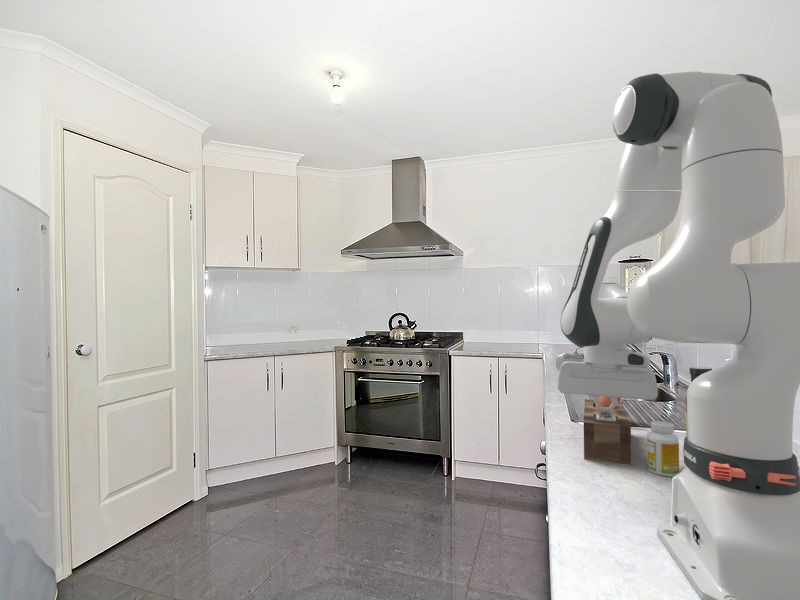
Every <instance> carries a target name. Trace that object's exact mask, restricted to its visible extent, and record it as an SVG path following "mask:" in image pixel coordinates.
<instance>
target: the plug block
mask: <svg viewBox="0 0 800 600" xmlns="http://www.w3.org/2000/svg"><path fill="white" fill-rule="evenodd" d="M583 406H584V407H583V408H584V409H583V410H584V412H583V459H584V460H588V461H595V462H596V461H597V462H603V463H604V462H605V463H610V464H611V463H612V464H617V465H626V466H632V426H631V424H630V420H629V417H628V415H627V411H626V409H625V405H624V402H622V401H620V402H618V403H617V405H616V406H615V408H614V409H613V416H615V417H616V421H607V420H597V419H596V414H598V408H597V407H595V403H594V401H593V399H588V398H587V399H584V405H583Z"/></svg>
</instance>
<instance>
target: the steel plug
mask: <svg viewBox="0 0 800 600" xmlns="http://www.w3.org/2000/svg"><path fill="white" fill-rule="evenodd" d="M596 419H597V420H607V421H616V417H615V416H613V417H608V416H599V415H598V414H596Z"/></svg>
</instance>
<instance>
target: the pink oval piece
mask: <svg viewBox="0 0 800 600" xmlns="http://www.w3.org/2000/svg"><path fill="white" fill-rule="evenodd" d="M598 402H599V403H600V405H601V407H609V406H610V405H611V403H612V402H611V397H606V396H600V400H599V401H598ZM595 407H597V406H596V404H595Z"/></svg>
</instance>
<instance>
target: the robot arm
mask: <svg viewBox="0 0 800 600" xmlns="http://www.w3.org/2000/svg"><path fill="white" fill-rule="evenodd" d="M611 123H612V129H613V132H614V134H615V135H616V138H617V139H618V140H619V141H621V142H623V143H625V147H624V148H623V152H622V156H621V159H620V162H619V166H618V170H617V174H616V177H615V178H616V179H615V185H614V191H613V197H612V200H611V202H610V204H609V206H608V209H607V210H606V211H605V213H604V215H603V216H602V217H600V218H599V219H597V220H595V222H594V223H593V224H592V226H591V228H590V230H589V233H588V235H587V238H586V242H585V244H584V247H583V251H582V253H581V257H580V260H579V264H578V267H577V270H576V274H575V277H574V281H573V283H572V287H571V290H570V293H569V296H568V298H567V300H566V302H565V303H564V307H563V308H562V311H561V315H560V329H561V333H562V334H563V335H564V336H565V337H566V339H568V341H570V342H571V343H572V344H574V346H577V347H579V348H582V349H583V353H567V352H565V353H562V354H560V355H558V356H557V358H556V359H555V363H556V364H555V367H556V370H557V371H558V375H557V376H558V377H557V390H558V391H559V392H560V393H561V394H569V395H572V394H573V395H583V396H592V400H593V401H594V403H595V404H596V406H597V408H598V415H599V416H608V417H613V409H614V408H615V406H616V405H617V403H618V397H619V398H620V399H635V400H646V401H654V400H656V399H657V398H658V395H659V394H658V393H659V391H658V385H657V377H656V374H655V372H654V369H652V368H651V367H650V365H651V357H650V356H649V355H648V354H646V353H644V352H640V351H638V350H635V349H632V348H631V349H630V348H628V346H627V345H638V344H644V343H649V342H650V341H651V340H652V339H658V340H662V341H666V342H674V343H681V344H682V343H683V344H717V345H718V344H720V345H722V344H724V345H725V344H726V345H727V344H729V345H730V344H731V345H736V346H735V351H734V353H733V355H732V357H731V358H730V359H729V361H727V362H726V364H724V365H722V366H720V367H717V368H714V369H712V370H711V371H708V372H706V373H704V374H702V375H700V376H698V377H697V378H695V379H694V380H693V381H692V382H691V381H690V384H689V386H688V388H687V389H686V396H687V437H686V436H685V437H684V439H683V446H682V454H683V463H684V465H685V466H684V467H683V469H682V470H680V471H679V474H677V475H676V476H674V477H672V479H671V498H670V499H671V500H670V522H669V523H663V524H659V525H658V526H657V531H656V535H657V536H658V538H660V541H661V542H662V544H664V546H665V547H666V548H665V549H667V551H668V552H669V554H670V555H671V556H672V558H673V559H674V561H675V562H676V564H677V565H678V567H679V568H680V569H681V571H682V572H683V574H684V575H685V577H686V578H687V580H688V581H689V582H690V584H691V586H692V587H693V589H694V590H695V591H696V593H697V594H698V596H699V597H700V598H701V599H702V600H800V466H799V462H798V457H797V455H796V454H795V453H794V452H793V432H794V427H793V426H794V415H795V414H794V412H795V404H796V403H795V401H796V396H797V393H798V390H799V389H800V262H799V261H789V262H788V261H787V262H786V261H784V262H783V261H782V262H761V263H760V262H759V263H732V252H733V248H734V246H735V245H736V244H738V243H741V242H742V241H745V240H747V239H749V238H752V237H754V236H756V235H758V234H760V233H762V232H763V231H765V230H767V229H769V228H771V226H773V225H774V224H775V223H777V221H778V220H779V219H780V217H781V216H782V214H783V213H784V210H785V207H786V195H785V173H784V172H785V171H784V155H783V154H784V153H783V141H782V132H781V127H780V121H779V117H778V113H777V110H776V106H775V103H774V100H773V93H772V89H771V85H770V84H769V83H768V82H767V81H766V80H765V79H763V78H760V77H758V76H755V75H750V74H746V73H745V74H744V73H736V74H727V73H719V72H718V73H715V72H703V71H684V72H672V73H664V74H660V73H656V72H655V73H649V74H645V75H642V76H641V75H640V76H638V77H635V78H633V79H631V80H630V81H628V83H626V84H625V86H624V87H623V88H622V90H621V91H620V92H619V94H618V96H617V98H616V101H615V103H614V106H613V112H612V122H611ZM680 203H681V205H680ZM680 206H681V207H680ZM679 208H680V218H679V224H678V228H677V231H676V235H675V237H674V239H673V241H672V243H671V245H670V246H669V247H668V249H667V251H665V253H664V255H662V256H661V258H660V259H659V260H658V261H657V262H656V263H655V264H653V265H651V267H650V268H648V269H647V270H645V271H644V272H642V273H641V274H639V276H638V277H637V278H636V279H635V280H634V282H633V283H632V284H631V286H630V288H629V291H628V292H627V291H626V290H625V287H624V286H623V285H622V284H620V283H616V282H604V279H605V275H606V272H607V269H608V266H609V263H610V261H611V260H612V258H613V257H614V256H615V255H616V254H618V253H619V252H620V251H622V250H623V249H625V248H627V247H629V246H631V245H634V244H636V243H640V242H642V241H645V240H648V239H650V238H652V237H654V236H657V235H658V234H660V233H662V232H663V231H665V230H666V229H667V228H668V227H669V226H670V225H671V224H672V223H673V222H674V220H675V219H676V215H677V213H678V211H679ZM600 396H606V397H611V402H612V403H611V405H610V406H609V407H601V405H600V403H599V402H598V401H599V400H600Z"/></svg>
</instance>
